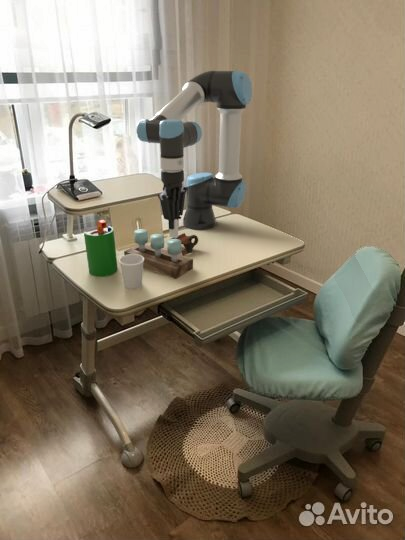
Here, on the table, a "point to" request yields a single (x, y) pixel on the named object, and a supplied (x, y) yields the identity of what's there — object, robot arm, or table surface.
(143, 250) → the knob
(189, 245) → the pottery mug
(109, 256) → the green pen holder
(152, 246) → the knob
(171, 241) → the knob
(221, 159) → the robot arm
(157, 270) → the mount
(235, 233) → the table surface
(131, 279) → the dixie cup
